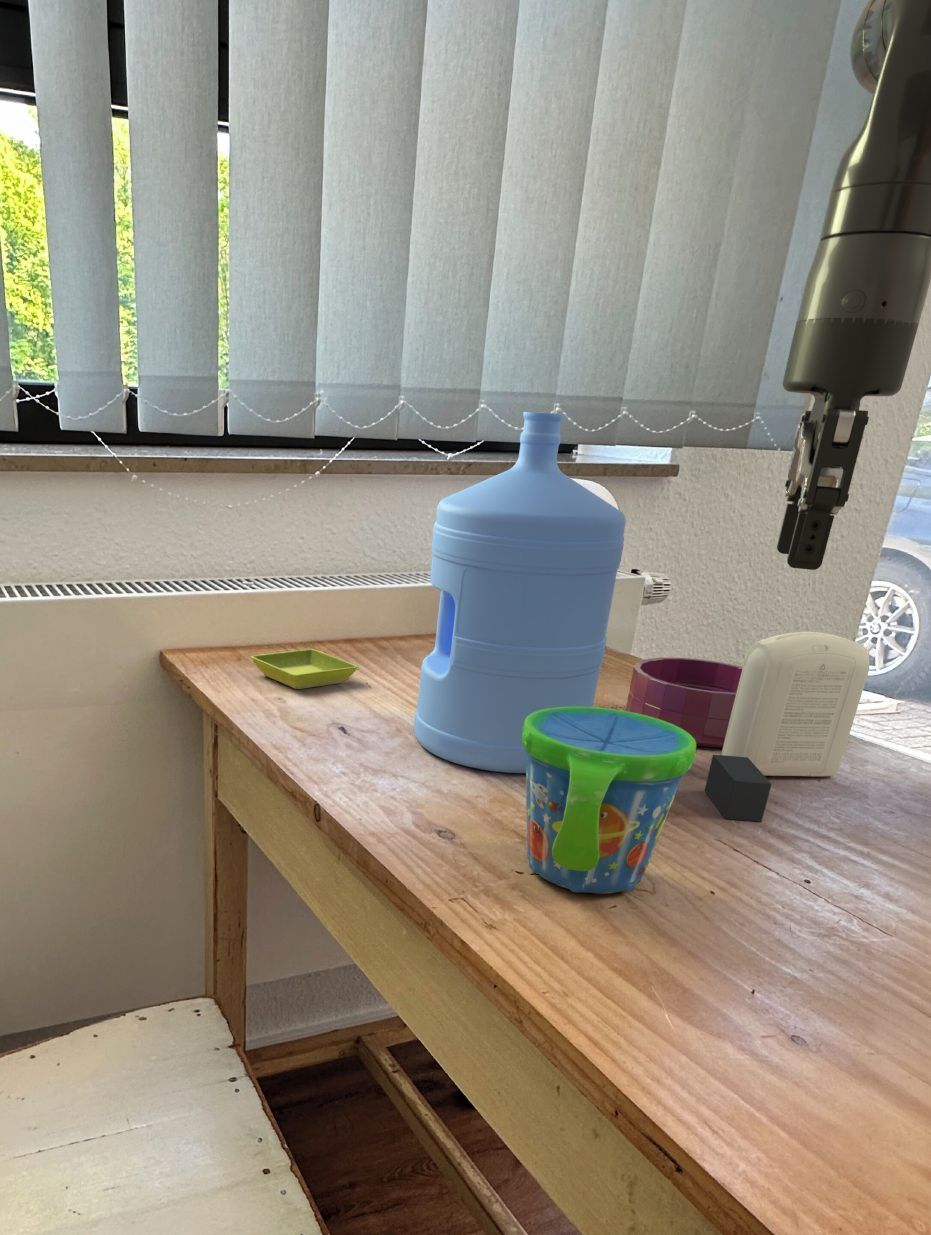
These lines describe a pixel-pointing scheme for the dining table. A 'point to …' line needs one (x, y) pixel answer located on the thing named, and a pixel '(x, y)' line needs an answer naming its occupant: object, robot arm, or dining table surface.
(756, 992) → the dining table surface
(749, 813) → the eraser
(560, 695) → the water jug
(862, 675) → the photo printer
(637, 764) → the snack cup
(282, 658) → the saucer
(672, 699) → the bowl
